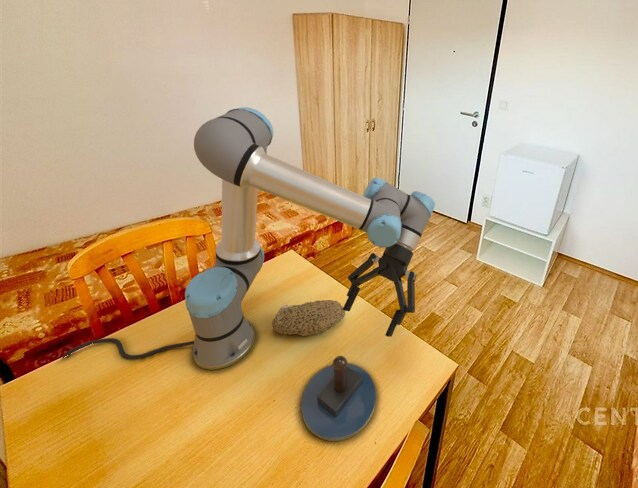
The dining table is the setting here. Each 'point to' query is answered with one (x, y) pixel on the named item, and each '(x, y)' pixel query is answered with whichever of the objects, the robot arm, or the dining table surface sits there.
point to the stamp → (339, 387)
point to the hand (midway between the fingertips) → (366, 322)
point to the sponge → (308, 317)
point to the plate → (349, 417)
